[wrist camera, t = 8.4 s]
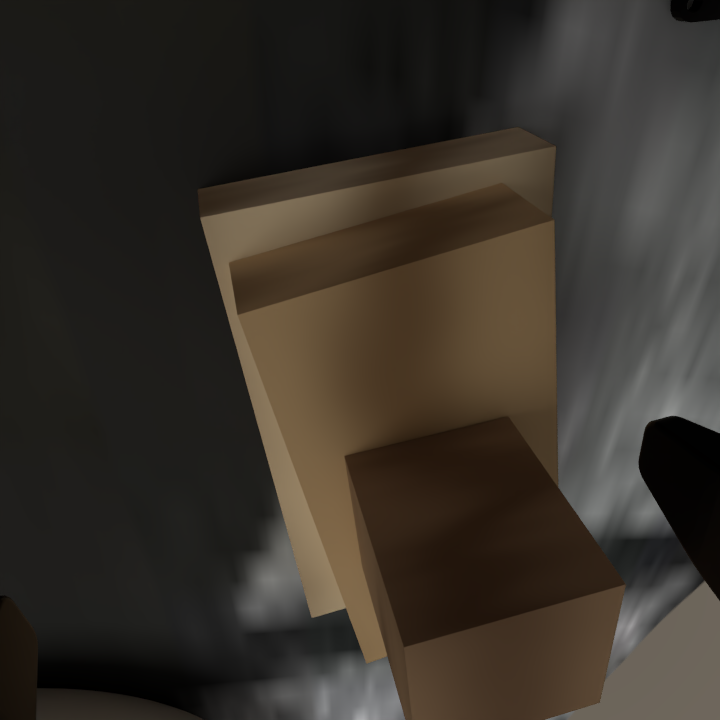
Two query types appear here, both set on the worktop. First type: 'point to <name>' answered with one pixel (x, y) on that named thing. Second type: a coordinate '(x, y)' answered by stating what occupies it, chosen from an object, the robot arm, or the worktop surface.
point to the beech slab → (333, 213)
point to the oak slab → (402, 347)
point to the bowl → (101, 706)
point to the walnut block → (482, 577)
